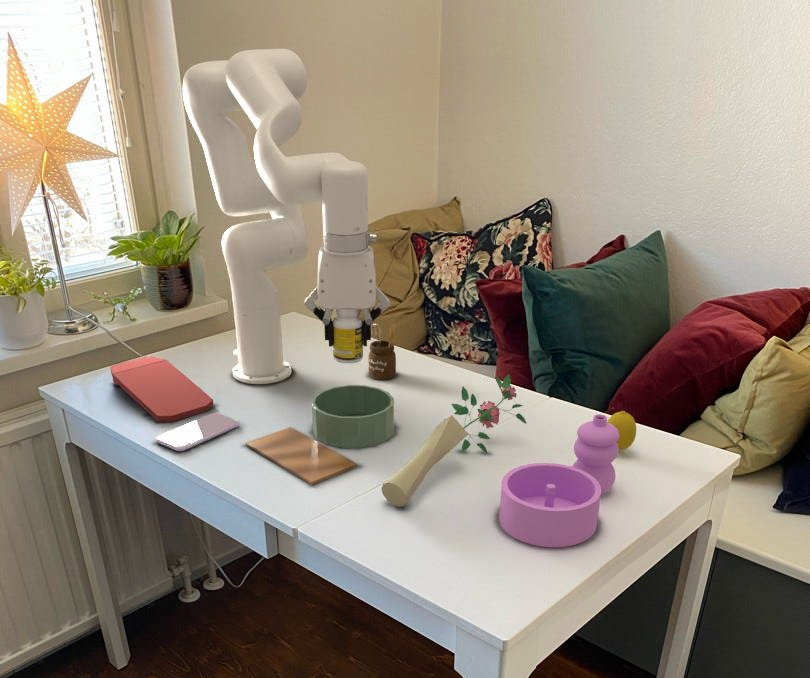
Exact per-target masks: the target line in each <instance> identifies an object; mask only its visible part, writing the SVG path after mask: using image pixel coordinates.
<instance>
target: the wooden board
mask: <svg viewBox="0 0 810 678" xmlns="http://www.w3.org/2000/svg"><path fill="white" fill-rule="evenodd" d="M245 445H246V447H248V448H250V449H251V450H253V451H254V452H256V453H258V454H259V455H261V456H263V457H265V458H266V459H268V460H270V462H273V463H274V464H276V465H278V466H279V467H281V468H283V469H285V470H286V471H288V472H289V473H291V474H293V475H295V476H297V477H298V478H299V479H301V480H302V481H304V482H306V483H308V484H310V485H311V486H313V485H315V484H317V483H321V482H323V481H325V480H328V479H330V478H333V477H335V476H338V475H340V474H343V473H345V472H348V471H350V470H352V469H355V468H358V463H356V462H355V461H353V460H351V459H349V458H348V457H346V456H345V455H342V454H340V453H338V452H337V451H335V450H333V449H331V448H329V447H327V446H326V445H323V443H320V442H318V441H316V440H314V439H312V438H311V437H309V436H308V435H305V434H304V433H302V432H300V431H298V430H296V429H294V428H292V427H287V428H284V429H281V430H278V431H276V432H273V433H270V434H267V435H265V436H264V435H263V436H262V437H259V438H256V439H253V440H249V441H248V442H245Z"/></svg>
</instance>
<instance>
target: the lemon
mask: <svg viewBox="0 0 810 678" xmlns="http://www.w3.org/2000/svg"><path fill="white" fill-rule="evenodd" d="M607 422H608V423H610V424H612V425H613V426H614V427H616V428H617V429H618V432H619V439H618V440H617V444H618V447H619V452H621V451H624V450H627V449H628V448H630V447H631V446H632V445H633V443H634V442H635V440H636V436H637V424H636V420H635V418H634V417H633V416H632V415H631V414H630V413H628V412H626V411H625V410H621V411H618V412H615V413H613V414H612V415H611V416H610V417H609V418H607Z"/></svg>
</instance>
